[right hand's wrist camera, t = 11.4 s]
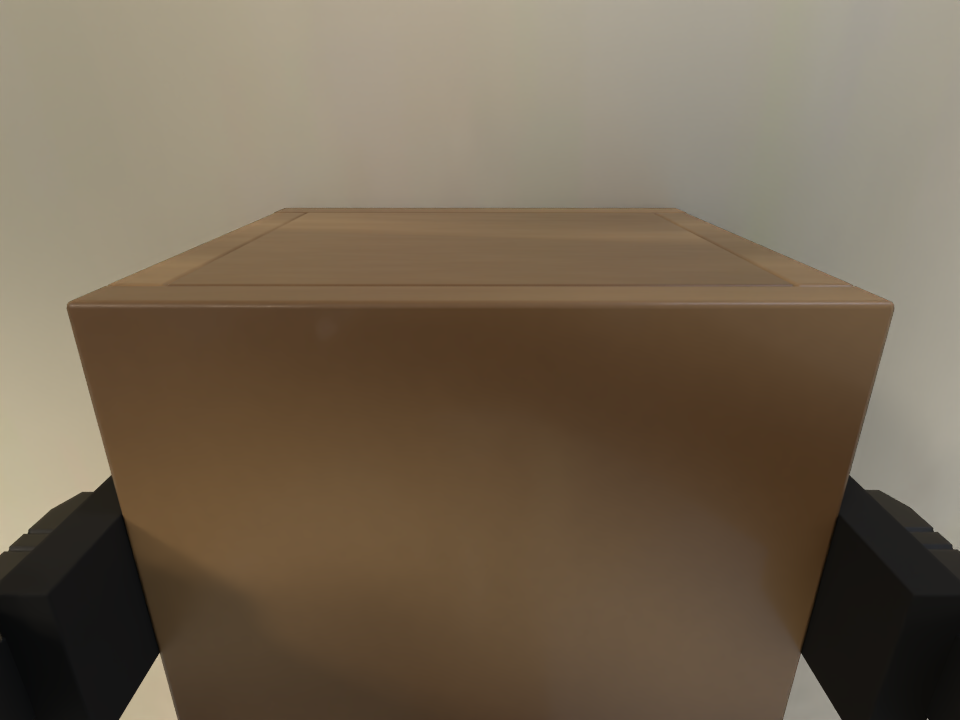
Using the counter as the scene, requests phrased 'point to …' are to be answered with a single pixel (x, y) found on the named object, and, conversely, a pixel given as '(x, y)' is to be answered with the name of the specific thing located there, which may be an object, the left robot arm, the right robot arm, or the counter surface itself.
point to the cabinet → (480, 461)
